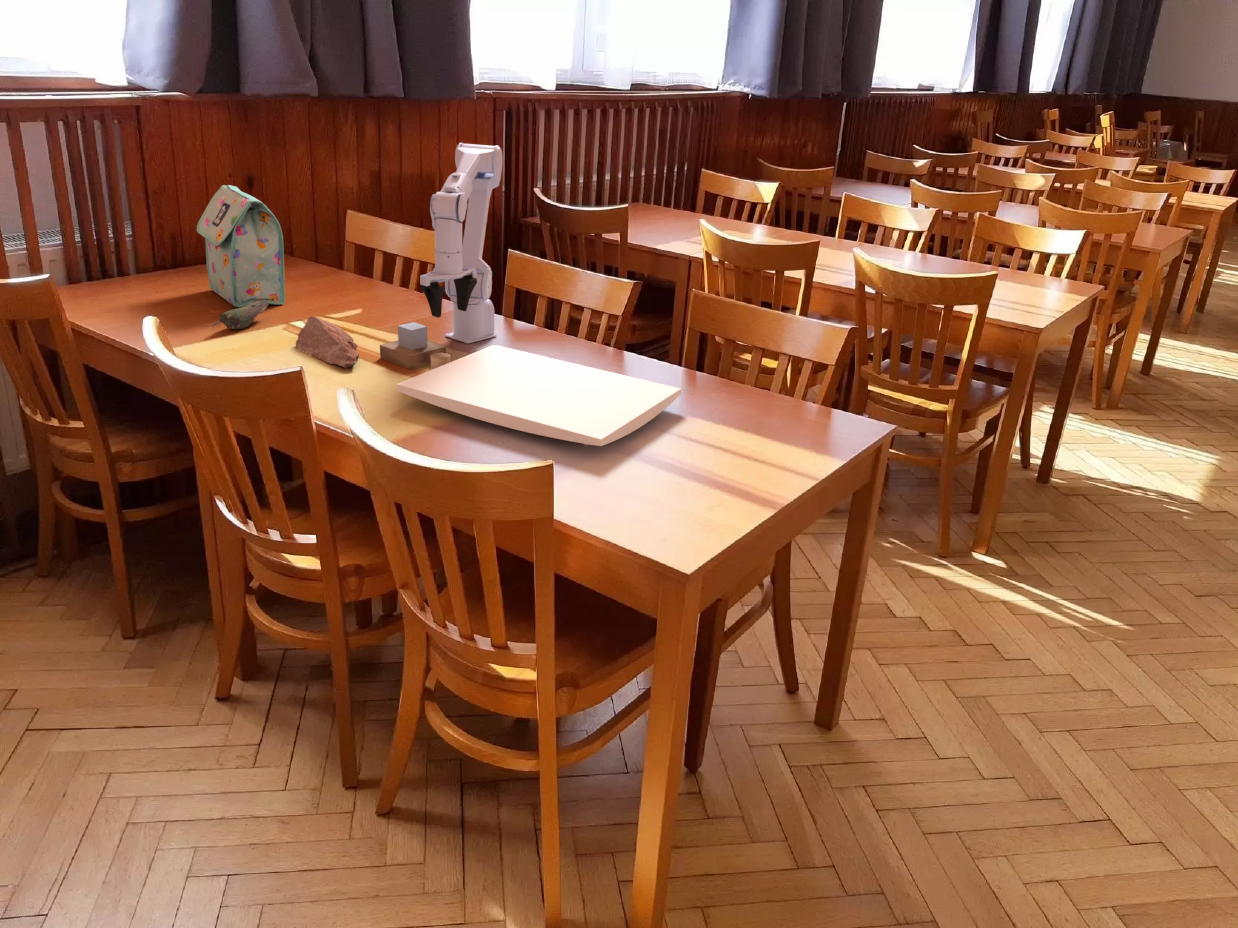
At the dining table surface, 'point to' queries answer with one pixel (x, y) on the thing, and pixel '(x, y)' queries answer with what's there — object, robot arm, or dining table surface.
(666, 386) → the board
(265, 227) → the lunch bag
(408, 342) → the grey cube
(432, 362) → the beech cylinder
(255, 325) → the dining table surface
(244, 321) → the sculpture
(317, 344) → the rock
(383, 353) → the walnut base
